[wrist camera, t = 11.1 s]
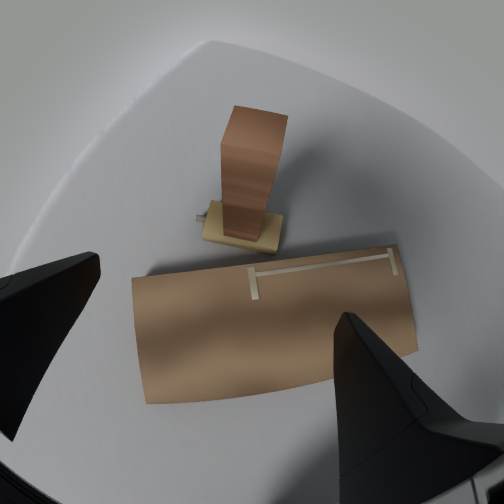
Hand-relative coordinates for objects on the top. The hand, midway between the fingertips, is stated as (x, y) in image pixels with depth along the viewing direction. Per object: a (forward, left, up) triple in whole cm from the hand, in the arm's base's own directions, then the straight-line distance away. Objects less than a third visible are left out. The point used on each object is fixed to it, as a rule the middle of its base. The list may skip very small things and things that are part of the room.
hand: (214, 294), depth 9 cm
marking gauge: (+7, -3, -13) cm, 15 cm away
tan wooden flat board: (-1, -5, -13) cm, 13 cm away
